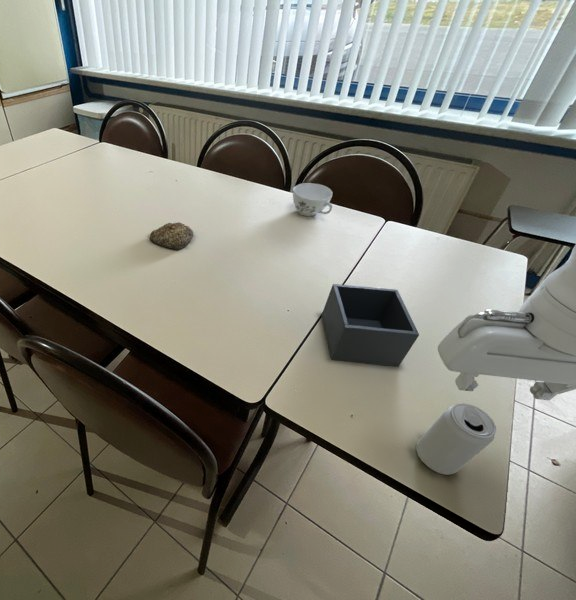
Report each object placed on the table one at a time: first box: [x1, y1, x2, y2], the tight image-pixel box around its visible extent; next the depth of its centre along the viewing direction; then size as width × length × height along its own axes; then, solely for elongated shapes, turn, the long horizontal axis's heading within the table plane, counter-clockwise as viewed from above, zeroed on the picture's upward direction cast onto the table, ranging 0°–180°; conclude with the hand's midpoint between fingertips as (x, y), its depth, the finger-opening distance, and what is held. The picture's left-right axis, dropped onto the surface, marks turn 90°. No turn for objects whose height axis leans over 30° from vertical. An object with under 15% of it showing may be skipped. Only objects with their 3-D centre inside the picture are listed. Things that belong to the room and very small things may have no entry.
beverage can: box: [415, 402, 497, 476], centre depth 58 cm, size 6×6×12 cm
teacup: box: [292, 182, 333, 217], centre depth 122 cm, size 15×12×8 cm
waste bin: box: [320, 283, 420, 368], centre depth 78 cm, size 14×14×10 cm
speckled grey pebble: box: [149, 221, 194, 250], centre depth 112 cm, size 13×12×5 cm
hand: (499, 391), depth 49 cm, fingers open, 8 cm apart
